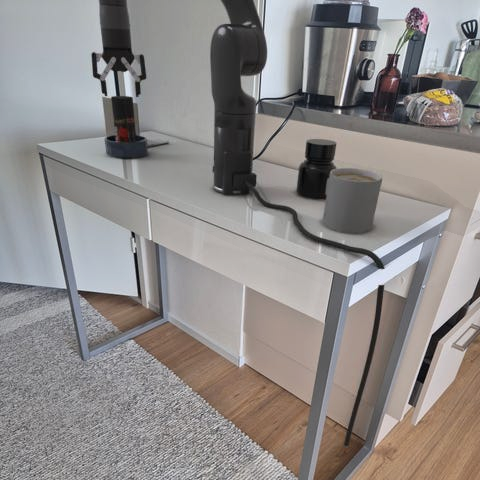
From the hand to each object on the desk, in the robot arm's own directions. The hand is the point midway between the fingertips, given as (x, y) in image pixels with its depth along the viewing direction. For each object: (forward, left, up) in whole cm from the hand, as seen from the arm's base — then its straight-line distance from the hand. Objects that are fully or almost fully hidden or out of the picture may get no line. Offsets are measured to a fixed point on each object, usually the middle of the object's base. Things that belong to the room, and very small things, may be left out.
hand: (121, 96), depth 122 cm
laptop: (+18, -4, -16) cm, 24 cm away
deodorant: (0, 0, -15) cm, 15 cm away
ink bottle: (-44, -43, -16) cm, 64 cm away
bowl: (0, 0, -16) cm, 16 cm away
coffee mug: (-63, -44, -16) cm, 78 cm away
